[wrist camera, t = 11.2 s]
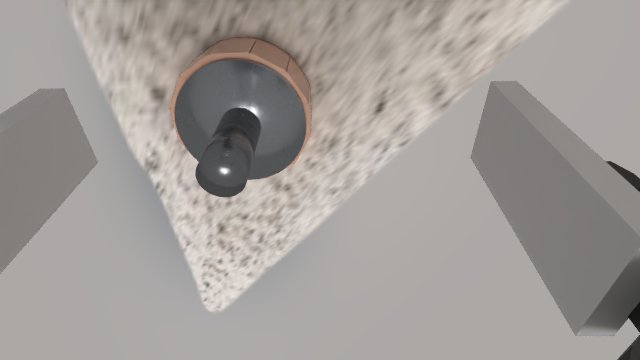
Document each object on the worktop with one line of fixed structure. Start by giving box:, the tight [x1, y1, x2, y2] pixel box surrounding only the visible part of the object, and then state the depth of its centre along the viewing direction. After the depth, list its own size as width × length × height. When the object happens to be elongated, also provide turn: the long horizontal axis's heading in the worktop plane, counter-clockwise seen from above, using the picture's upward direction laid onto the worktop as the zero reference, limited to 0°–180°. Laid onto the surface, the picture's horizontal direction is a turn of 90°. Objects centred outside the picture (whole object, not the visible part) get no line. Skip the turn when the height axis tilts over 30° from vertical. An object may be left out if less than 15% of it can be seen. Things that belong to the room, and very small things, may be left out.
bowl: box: [169, 37, 312, 178], centre depth 35 cm, size 12×12×5 cm
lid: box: [174, 58, 306, 197], centre depth 30 cm, size 12×12×9 cm
